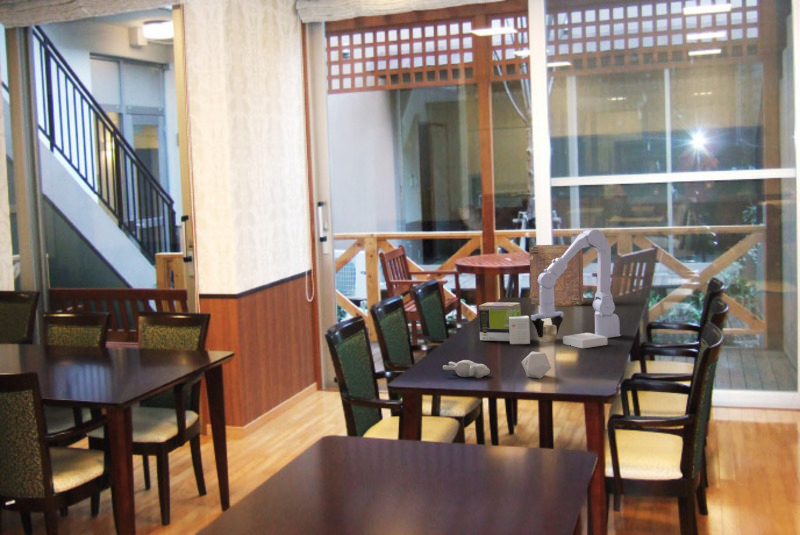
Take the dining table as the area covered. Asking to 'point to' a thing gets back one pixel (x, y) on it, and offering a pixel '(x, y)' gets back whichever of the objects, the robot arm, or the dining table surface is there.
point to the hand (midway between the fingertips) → (547, 336)
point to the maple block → (549, 333)
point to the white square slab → (585, 340)
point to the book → (567, 283)
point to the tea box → (496, 320)
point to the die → (536, 364)
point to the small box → (519, 330)
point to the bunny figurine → (468, 368)
